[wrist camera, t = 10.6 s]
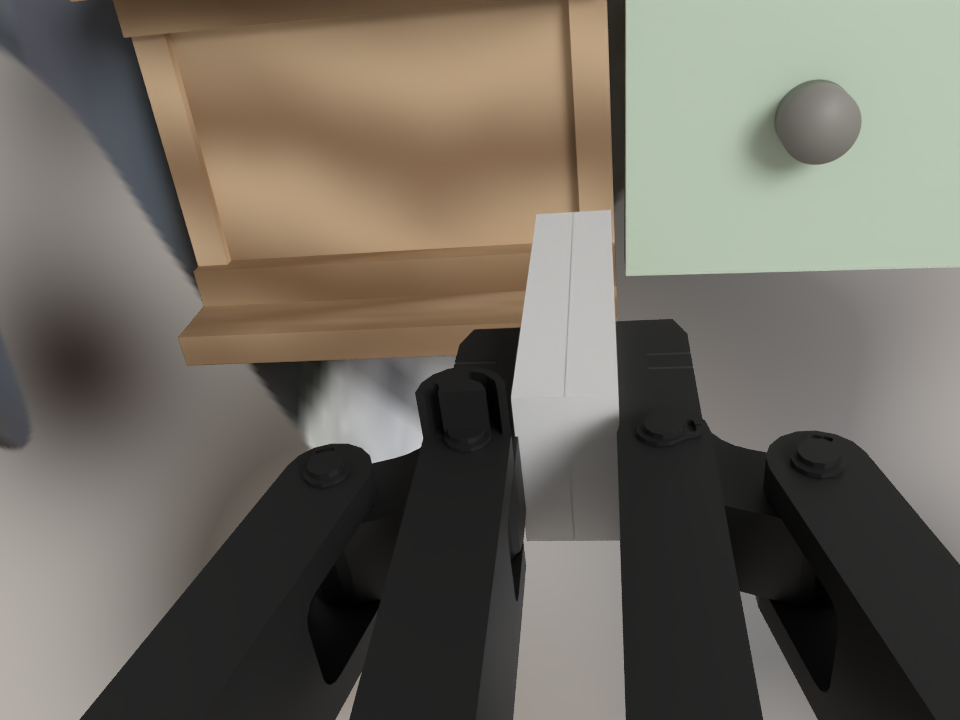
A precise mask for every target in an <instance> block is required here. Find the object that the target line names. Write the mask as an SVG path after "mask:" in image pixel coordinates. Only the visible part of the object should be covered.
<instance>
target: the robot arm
mask: <svg viewBox="0 0 960 720" xmlns="http://www.w3.org/2000/svg"><path fill="white" fill-rule="evenodd" d="M415 394H416V400H417V405H418V411H419V417H420V422H421V428H422V433H423V442H422V446H421V448H419V449H417V450H415V451H413V452H411V453H409V454H407V455H404V456H400V457H397V458H394V459H390V460H385V461H381V462H377V463H373V464H372V462H371V458H370V455H369V454H368V453H366V452H365V451H364V450H363V449H362V448H360V447H357V446H353V445H350V444H329V445H324V446H320V447H316V448H313V449H311V450H309V451H307V452H305V453H303V454H301V455H299V456H298V457H297V458H296V459H295V460H294V461H292V462H291V463H290V464H289V465H288V466H287V467H286V468H285V470H284V471H283V472H282V473H281V474H280V476H279V477H278V478H277V479H276V481H275V482H274V483H273V484H272V485H271V487H270V488H269V489H268V490H267V492H266V493H265V494H264V495H263V496H262V498H261V499H260V500H259V501H258V503H257V504H256V505H255V506H254V508H253V509H252V510H251V511H250V512H249V514H248V515H247V516H246V517H245V518H244V520H243V521H242V522H241V523H240V524H239V526H238V527H237V528H236V529H235V531H234V532H233V533H232V534H231V536H230V537H229V538H228V539H227V541H226V542H225V543H224V544H223V545H222V546H221V548H220V549H219V550H218V551H217V553H216V554H215V555H214V556H213V557H212V559H211V560H210V561H209V562H208V564H207V565H206V566H205V567H204V568H203V570H202V571H201V572H200V573H199V575H198V576H197V577H196V578H195V580H194V581H193V582H192V583H191V584H190V586H189V587H188V588H187V589H186V590H185V592H184V593H183V594H182V595H181V596H180V598H179V599H178V600H177V601H176V603H175V604H174V605H173V606H172V607H171V609H170V610H169V611H168V613H167V614H166V615H165V616H164V617H163V618H162V620H161V621H160V622H159V623H158V625H157V626H156V627H155V628H154V630H153V631H152V632H151V633H150V634H149V636H148V637H147V638H146V639H145V640H144V642H143V643H142V644H141V645H140V647H139V648H138V649H137V650H136V651H135V653H134V654H133V655H132V656H131V658H130V659H129V660H128V661H127V662H126V664H125V665H124V666H123V667H122V669H121V670H120V671H119V672H118V673H117V675H116V676H115V677H114V678H113V679H112V681H111V682H110V683H109V684H108V686H107V687H106V688H105V689H104V691H103V692H102V693H101V694H100V695H99V697H98V698H97V699H96V700H95V701H94V703H93V704H92V705H91V706H90V708H89V709H88V710H87V711H86V712H85V714H84V715H83V716H82V717H81V719H80V720H335V719H336V717H337V715H338V714H339V712H340V710H341V708H342V706H343V705H344V703H345V701H346V699H347V697H348V695H349V694H350V692H351V690H352V688H353V686H354V685H355V683H356V681H357V679H358V677H359V675H360V674H361V672H362V674H361V677H360V681H359V685H358V689H357V693H356V696H355V701H354V704H353V708H352V712H351V715H350V719H349V720H513V713H514V702H515V690H516V678H517V666H518V654H519V643H520V631H521V618H522V607H523V595H524V583H525V571H526V562H525V552H524V544H523V538H524V528H526V538H527V541H575V540H576V541H584V540H585V541H587V540H589V541H595V540H620V548H621V549H620V550H621V582H622V611H623V644H624V674H625V705H626V706H625V707H626V720H763V717H762V711H761V706H760V701H759V695H758V689H757V684H756V678H755V673H754V668H753V662H752V656H751V651H750V645H749V640H748V635H747V629H746V623H745V618H744V612H743V607H742V601H741V596H740V591H741V592H745V593H749V594H753V595H755V596H756V599H757V603H758V607H759V609H760V611H761V613H762V615H763V617H764V619H765V621H766V622H767V624H768V626H769V628H770V630H771V632H772V634H773V636H774V637H775V639H776V641H777V643H778V645H779V647H780V649H781V651H782V653H783V655H784V656H785V658H786V660H787V662H788V664H789V666H790V668H791V670H792V672H793V673H794V675H795V677H796V679H797V681H798V683H799V685H800V686H801V689H802V691H803V692H804V694H805V696H806V698H807V700H808V702H809V704H810V706H811V707H812V709H813V711H814V713H815V715H816V717H817V719H818V720H960V565H959V563H958V562H957V561H956V560H955V559H954V557H953V556H952V555H951V554H950V552H949V551H948V550H947V549H946V548H945V546H944V545H943V544H942V543H941V542H940V541H939V539H938V538H937V537H936V536H935V535H934V533H933V532H932V531H931V530H930V529H929V527H928V526H927V525H926V524H925V523H924V521H923V520H922V519H921V518H920V517H919V515H918V514H917V513H916V512H915V511H914V509H913V508H912V507H911V506H910V505H909V503H908V502H907V501H906V500H905V499H904V497H903V496H902V495H901V494H900V493H899V491H898V490H897V489H896V488H895V487H894V485H893V484H892V483H891V482H890V481H889V479H888V478H887V477H886V476H885V475H884V473H883V472H882V471H881V470H880V469H879V467H878V466H877V465H876V464H875V463H874V461H873V460H872V459H871V458H870V457H869V456H868V454H867V453H866V452H865V451H864V450H862V449H861V448H860V447H859V446H857V445H856V444H855V443H854V442H853V441H850V440H848V439H845V438H843V437H841V436H838V435H836V434H831V433H825V432H820V431H798V432H794V433H791V434H787V435H784V436H781V437H779V438H778V439H777V440H776V441H774V442H773V443H772V444H771V445H770V446H769V449H768V451H767V453H765V452H761V451H755V450H750V449H746V448H742V447H738V446H734V445H732V444H730V443H728V442H725V441H723V440H721V439H720V438H718V437H717V436H715V435H714V434H712V433H711V431H710V429H709V427H708V426H707V423H706V422H705V420H703V419H702V415H701V409H700V404H699V398H698V392H697V387H696V381H695V375H694V369H693V364H692V358H691V354H690V347H689V342H688V335H687V333H686V332H685V331H684V330H683V329H682V328H681V327H680V326H679V325H678V324H677V323H676V322H675V321H674V320H673V319H663V320H638V321H615V300H614V276H613V252H612V229H611V210H599V211H583V212H566V213H550V214H536V221H535V228H534V236H533V243H532V250H531V257H530V264H529V272H528V279H527V286H526V293H525V300H524V308H523V315H522V322H521V327H518V328H493V329H474V330H473V331H472V332H471V333H470V334H469V335H468V336H467V337H466V338H465V339H464V340H463V341H462V342H461V343H460V344H459V348H458V352H457V356H456V360H455V364H454V368H451V369H447V370H444V371H442V372H439V373H436V374H434V375H432V376H431V377H429V378H428V379H426V380H425V381H423V382H422V383H421V384H420V386H419V388H418V389H417V391H416V392H415Z"/></svg>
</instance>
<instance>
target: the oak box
mask: <svg viewBox="0 0 960 720" xmlns="http://www.w3.org/2000/svg"><path fill="white" fill-rule="evenodd" d="M75 1H84V0H70V2H75ZM113 3H114V6H115V10H116V13H117V16H118V20H119V23H120V27H121V30H122V33H123V37H124V38H126V37H131V38H132V42H133V45H134V48H135V52H136V55H137V59H138V62H139V65H140V69H141V72H142V76H143V79H144V82H145V86H146V89H147V93H148V96H149V100H150V103H151V106H152V110H153V113H154V117H155V120H156V123H157V127H158V130H159V134H160V137H161V140H162V144H163V147H164V151H165V154H166V158H167V161H168V164H169V168H170V171H171V175H172V178H173V181H174V185H175V188H176V192H177V195H178V198H179V202H180V205H181V209H182V212H183V215H184V219H185V222H186V226H187V229H188V233H189V236H190V239H191V243H192V246H193V250H194V253H195V256H196V260H197V263H198V267H197V268H196V269H195V271H194V275H195V279H196V282H197V286H198V289H199V292H200V296H201V299H202V302H203V306H204V307H203V308H202V309H201V311H200V312H199V313H198V314H197V315H196V317H195V318H194V319H193V321H191V323H190V324H189V325H188V326H187V327H186V329H185V330H184V331H183V332H182V333H181V335H180V336H179V337H178V339H179V342H180V345H181V349H182V352H183V355H184V357H185V361H186V364H187V365H188V366H189V365H213V364H214V365H215V364H241V363H267V362H293V361H319V360H345V359H371V358H397V357H423V356H449V355H457V352H458V348H459V344H460V343H461V342H462V341H463V340H464V339H465V338H466V337H467V336H468V335H469V334H470V333H471V332H472V331H473V330H474V329H493V328H518V327H521V322H522V315H523V308H524V300H525V293H526V286H527V279H528V272H529V264H530V257H531V250H532V243H533V236H534V228H535V221H536V214H550V213H566V212H583V211H599V210H611V229H612V252H613V276H614V300H615V321H618V307H617V291H616V290H617V289H616V261H615V234H614V203H613V172H612V141H611V110H610V79H609V49H608V18H607V0H113Z"/></svg>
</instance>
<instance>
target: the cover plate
mask: <svg viewBox="0 0 960 720" xmlns="http://www.w3.org/2000/svg"><path fill="white" fill-rule="evenodd" d="M624 192H625V270H626V276H645V275H646V276H647V275H680V274H681V275H683V274H720V273H755V272H756V273H759V272H793V271H794V272H796V271H833V270H869V269H870V270H872V269H909V268H943V267H946V268H947V267H960V0H625V190H624Z"/></svg>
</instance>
